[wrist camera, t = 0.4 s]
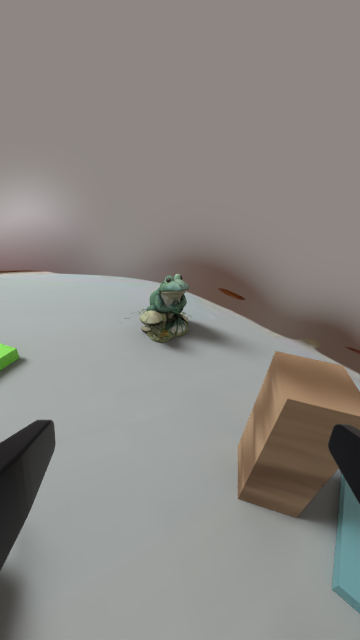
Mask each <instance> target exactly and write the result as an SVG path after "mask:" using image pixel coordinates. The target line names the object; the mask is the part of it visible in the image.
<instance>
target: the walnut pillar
mask: <svg viewBox="0 0 360 640" xmlns="http://www.w3.org/2000/svg"><path fill="white" fill-rule="evenodd" d="M336 424H349V425H351V426H353V427H355V428H357V429H359V430H360V392H359V390H358V388H357V387H356V385H355V384H354V382H353V381H352V379H351V378H350V376H349V375H348V373H347V371H346V370H345V368H344V367H343V366H342V365H337V364H332V363H328V362H323V361H319V360H314V359H309V358H305V357H300V356H295V355H291V354H286V353H282V352H277V351H276V352H275V354H274V357H273V359H272V362H271V364H270V367H269V369H268V372H267V374H266V377H265V379H264V382H263V384H262V387H261V389H260V392H259V394H258V397H257V400H256V402H255V405H254V407H253V410H252V412H251V415H250V417H249V420H248V422H247V425H246V427H245V430H244V432H243V435H242V437H241V440H240V442H239V445H238V499H240V500H243V501H247V502H250V503H253V504H256V505H259V506H262V507H265V508H268V509H271V510H274V511H277V512H280V513H283V514H286V515H289V516H292V517H295V518H297V516H298V515H299V514H300V513H301V512H302V511H303V509H304V508H305V507H306V506H307V505H308V503H309V502H310V501H311V500H312V499H313V498H314V496H315V495H316V494H317V493H318V492H319V491H320V489H321V488H322V487H323V486H324V485H325V484H326V482H327V481H328V480H329V479H330V478H331V476H332V475H333V474H334V473H335V472H336V471H337V469H338V468H339V467H338V466H337V464H336V462H335V460H334V459H333V457H332V455H331V453H330V451H329V448H328V442H329V439H330V436H331V433H332V429H333V427H334V426H335V425H336Z"/></svg>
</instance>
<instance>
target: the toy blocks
mask: <svg viewBox="0 0 360 640" xmlns="http://www.w3.org/2000/svg"><path fill="white" fill-rule="evenodd" d="M18 358H19V355H18V352H17V349H16V348H13V347H10V346H6V345H3V344H0V370H2V369H3V368H5V367H6V366H8V365H9V364H11V363H12V362H14V361H15V360H17V359H18Z"/></svg>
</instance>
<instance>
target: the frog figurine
mask: <svg viewBox="0 0 360 640" xmlns="http://www.w3.org/2000/svg"><path fill="white" fill-rule="evenodd" d="M188 289H189V286H188V285H187V284H186V283H185V282H183V281H182V276H181V275H180V274H176V275H175V277H174V278H173V277H172V276H167V277H166V278H165V281H164V282H162V283H161V285H160V287H159V288H158V290H156V291H154V292H153V293H152V294H151V296H150V306H149V307H148V308H147V312H143V310H144V309H143V310H142V311H141V312H143V314H142V315H141V316H140V320H141V322H142V323H143V324H145V327H141V329H142V331H143V332H146V333H147V336H148V337H149V338H150V339H151V340H153V341H155V342H162V343H163V342H167V341H169V340H170V339H171V338H174V337H179V336H182V335H184V334H186V333H188V326H187V325H188V318H187V317H185V316H184V315H182V314H180V313H181V311H182V310H183V307H184V306H185V305H186V303H187V301H186V298H185V296H184V293H185V292H186V291H187V290H188ZM145 310H146V309H145ZM138 312H139V311H138ZM141 312H140V313H141ZM182 313H183V314H186V313H184V312H182ZM130 314H131V313H130ZM189 317H190V315H189ZM125 319H126V318H125ZM127 319H129V318H127ZM121 323H122V322H121Z"/></svg>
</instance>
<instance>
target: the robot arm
mask: <svg viewBox="0 0 360 640" xmlns="http://www.w3.org/2000/svg"><path fill="white" fill-rule="evenodd" d="M328 448H329V451H330V453H331V455H332V457H333V459H334V460H335V462H336V464H337V466H338V467H339V469H340V471H341V473H342V474H343V476H344V478H345V480H346V482H347V483H348V485H349V487H350V489H351V490H352V492H353V494H354V496H355V497H356V499H357V501H358V502H359V504H360V430H359V429H357V428H355V427H353V426H351V425H349V424H336V425H335V426H334V427H333V429H332V433H331V436H330V439H329V442H328ZM54 449H55V431H54V423H53V421H52V420H37V421H35V422H33V423H31V424H30V425H28V426H27V427H25V428H23V429H22V430H20V431H19V432H17V433H15V434H14V435H12V436H11V437H9V438H7V439H6V440H4V441H3V442H1V443H0V571H1V569H2V567H3V565H4V563H5V561H6V559H7V557H8V555H9V553H10V551H11V549H12V547H13V545H14V543H15V541H16V539H17V537H18V535H19V533H20V531H21V529H22V527H23V525H24V523H25V520H26V518H27V516H28V514H29V512H30V510H31V507H32V505H33V502H34V500H35V497H36V495H37V492H38V490H39V487H40V485H41V482H42V480H43V477H44V475H45V472H46V470H47V467H48V465H49V462H50V460H51V457H52V455H53V452H54Z"/></svg>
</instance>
